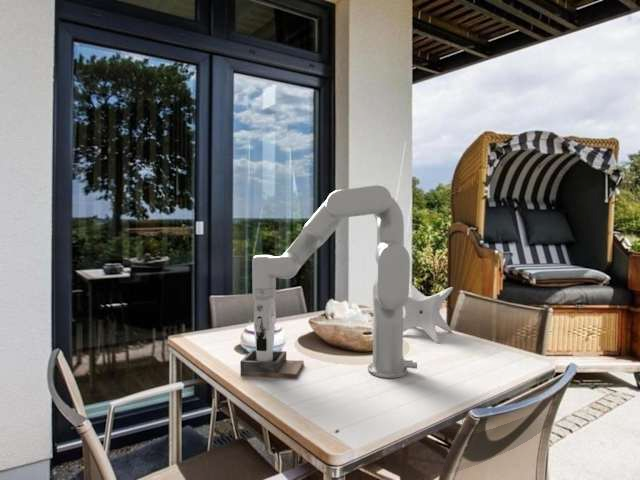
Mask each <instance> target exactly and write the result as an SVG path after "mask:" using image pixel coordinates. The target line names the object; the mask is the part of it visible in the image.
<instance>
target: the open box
mask: <svg viewBox="0 0 640 480" xmlns="http://www.w3.org/2000/svg"><path fill="white" fill-rule="evenodd" d="M304 364H305V363H304V360H290V359H287V351H285V350H284V351H282V350H273V360H272V361H271V362H262V361H257V357H256V349H251V350H250V351H249V352H248V354H246V355H245V356H243V358H241V360H240V376H243V377H244V376H245V377H258V378H259V377H261V378H262V377H263V378H277V379H280V378H281V379H293V380H294V379H295V380H296V379H297V378H298V376H299V375H300V373H301V371H302V369H303V368H304Z"/></svg>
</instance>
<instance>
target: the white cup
mask: <svg viewBox="0 0 640 480" xmlns="http://www.w3.org/2000/svg"><path fill="white" fill-rule="evenodd" d="M271 320H272V322H271V328H270V329H269V330H267V329H266V337H265V338H267V350H266V351H257V350H256V349H255V350H256V357H257V361H262V362H271V361H272V360H273V351H274V343H275V331H276V330H275V329H276V328H275V327H276V326H275V325H276V323H275V317H274V315H273V316H272V319H271ZM256 326H257V325H256ZM261 329H264V326H261ZM253 331H254V332H253V333H254V342H255V345H256V329H255V328H254V327H253ZM261 332H262V333H263V331H261Z"/></svg>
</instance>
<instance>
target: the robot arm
mask: <svg viewBox="0 0 640 480" xmlns="http://www.w3.org/2000/svg"><path fill="white" fill-rule="evenodd" d="M368 215H373V216H374V218H375V221H376V248H375V250H376V251H375V261H376V264H377V278H376V280H375V281H374V283H373V287H372V305H373V307H372V308H373V313H372V314H373V315H372V316H373V317H372V319H373V321H372V323H373V325H372V326H373V327H372V333H373V334H372V362H371V363H369V365H368V367H367V371H368V373H370V375H373V376H376V377H379V378H385V379H396V378H401V377H404V376H406V375H407V374H408V369H416V370H417V369H418V362H417V361H416V362H415V361H414V360H410V359H409V360H406V359H404V358H405V357H404V355H403V354H404V353H403V351H404V350H403V349H404V347H403V346H404V339H403V338H404V332H403V318H404V305H405V303H406V302H407V299H408V297H409V294H410V293H409V292H410V290H409V283H410V277H411V273H410V272H411V259H410V254H409V252H408V250H407V248H406V247H405V232H404V231H405V222H404V216H403V211H402V209H401V207H400V206H399V204H398V202H397V201H396V200H395V199H394V197H392V195H391V192H390V190H389V189H387V188H386V187H385V186H384V185H383V186H382V185H379V184H377V185H368V186H361V187H354V188H346V189H345V188H343V189H337V190H334V191H332V192H331V193H329V195H328V196H327V198H326V199H325V201H323V202H322V204H321V205H320V207H318V209H317V210H316V211H315V212H314V213H313V215H312V216H311V217H310V218H309V219H308V221H307V222H306V223H305V224H304V226H303V227H302V229H301V231H300V233H299V234H298V235H297V237H296V239H294V241H293V242H292V243H291V245H290V246H289V247H288V248H287V249H286V250H285V252H283V254H282V255H279V256H274V255H271V254H258V255H257V254H256V255H254V256H253V257H252V260H251V263H252V264H251V268H252V269H251V270H252V271H251V272H252V273H251V275H252V276H251V277H252V298H253V300H254V306H253V329H254V328H255V329H256V344H255V350H257V351H266V350H267V338H265V337H266V329H267V330H269V329H270V328H271V322H272V320H271V319H272V316H273V315H274V317H275V324H276V323H277V314H276V312H277V311H276V301H275V300H276V299H275V298H276V296H277V292H276V291H277V289H276V288H277V287H276V286H277V281H276V280H277V279H276V278H278V279H283V280H284V279H285V280H287V279H292V278H294V277H295V276H296V275H297V274H298V272H299V271H300V269H301V268H302V266H304V264H305V263H306V261H308V259H309V258H311V256H312V255H313V254H314V253H315V251H317V250H318V249H319V248H320V247H322V246H323V245H324V243H326V241H328V239H329V238H330V236H332V234H334V232H335V231H336V230H337V228H338V227H339V226H340V225H341V223H342V222H344V220H345V219H346V218H352V217H359V216H361V217H362V216H368ZM256 325H257V326H256ZM261 326H264V329H261ZM261 331H263V333H262V332H261Z"/></svg>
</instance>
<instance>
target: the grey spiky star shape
mask: <svg viewBox="0 0 640 480" xmlns="http://www.w3.org/2000/svg"><path fill="white" fill-rule="evenodd" d="M453 289H454V287H453V286H451V287H448V288H446V289H443V290H442V291H440V292H437V293H435V294H432V295H430V296H429V295H427V296H426V295H424V294H423V293H421V292H420V291H419V290H418V288H416V287H415V286H414V285H413V284H412V283H410V282H409V292H410V293H409V294H410V296H408V299H407V302H406V303H405V305H404V306H403V309H404V311H405V314H404V315H403V333H405V332H406V331H408V330H411V329H413V328H421V329H422V330H423V331H425V333H426V334H427V335H428V336H429V337H430V338H431V340H432V341H434V343H436V344H440V340H439V337H438V333H437V330H436V327H438V328H440V329H442V330H444V331H446V332H448V333H453V331H452V328H451V327H450V326H449V325H448V323H447V322H446V320H445V319H444V318H443V316H442V314H441V313H440V309H441V306H442V305H443V303H444V301H446V299H447V298H448V296H449V295H450V294H451V292H452V291H453Z"/></svg>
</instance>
